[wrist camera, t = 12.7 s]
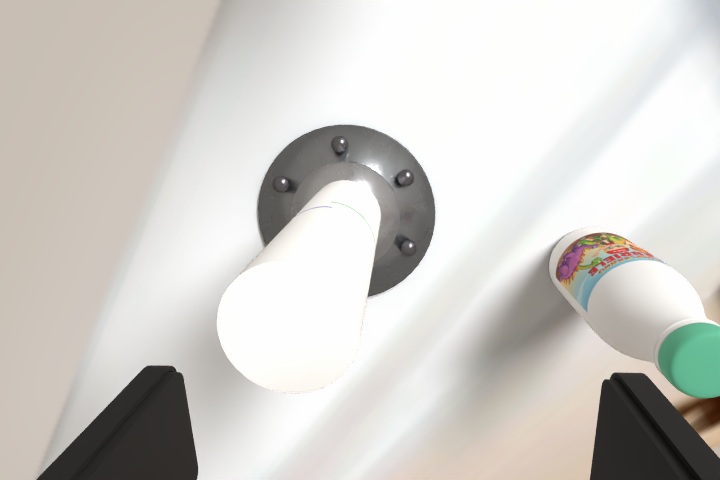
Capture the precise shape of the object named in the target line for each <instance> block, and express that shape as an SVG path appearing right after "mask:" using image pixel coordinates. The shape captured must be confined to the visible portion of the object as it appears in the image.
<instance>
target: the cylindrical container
mask: <svg viewBox="0 0 720 480" xmlns="http://www.w3.org/2000/svg"><path fill="white" fill-rule="evenodd" d="M380 221H381V211H380V206H379V204H378V201H377V199H376V198H375V196H374V195H373V193H372V192H371V191H370V190H369V189H368V188H366V187H365V186H363V185H362V184H359V183H357V182H354V181H349V180H340V181H335V182H332V183H330V184H328V185H326V186H324V187H323V188H322V189H321V190H320V191H319V192H318V193H317V194H316V195H315V196H314V197H313V198H312V199H311V200H310V201H309V202H308V203H307V204H306V205H305V206H304V207H303V208H302V209H301V210H300V212H299V213H298V214H297V215H296V216H295V217H294V218H293V219H292V220H291V221H290V222H289V223H288V224H287V225H286V226H285V227H284V228H283V229H282V230H281V231H280V233H279V234H278V235H277V236H276V237H275V238H274V239H273V240H272V241H271V242H270V243H269V244H268V245H267V246H266V247H265V248H264V249H263V250H262V251H261V252H260V253H259V254H258V256H257V257H256V258H255V259H254V260H253V261H252V262H251V263H250V264H249V265H248V266H247V267H246V268H245V269H244V270H243V271H242V272H241V273H240V275H239V276H238V277H237V278H236V279H235V280H234V281H233V282H232V283H231V284H230V285H229V286H228V288H227V290H226V291H225V293H224V295H223V296H222V299H221V302H220V305H219V308H218V313H217V330H218V336H219V340H220V343H221V346H222V348H223V350H224V352H225V354H226V356H227V358H228V359H229V360H230V361H231V363H232V364H233V365H234V367H235V368H236V369H237V370H238V371H239V372H241V373H242V374H243V375H244V376H245V377H246V378H248V379H249V380H251V381H253V382H254V383H256V384H257V385H259V386H262V387H264V388H267V389H269V390H272V391H277V392H282V393H291V394H300V393H308V392H312V391H316V390H319V389H322V388H324V387H326V386H328V385H330V384H332V383H333V382H335V381H336V380H337V379H338V378H340V377H341V376H342V375H343V374H344V373H345V372H346V371H347V369H348V368H349V367H350V365H351V364H352V363H353V360H354V358H355V356H356V354H357V351H358V347H359V342H360V337H361V331H362V325H363V320H364V314H365V308H366V302H367V296H368V291H369V285H370V279H371V273H372V268H373V262H374V256H375V250H376V244H377V238H378V232H379V226H380Z"/></svg>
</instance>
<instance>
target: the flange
mask: <svg viewBox="0 0 720 480" xmlns="http://www.w3.org/2000/svg"><path fill="white" fill-rule="evenodd" d="M340 180H349V181H354V182H357V183H359V184H362V185H363V186H365V187H366V188H368V189H369V190H370V191H371V192H372V193H373V195H374V196H375V198H376V199H377V201H378V204H379V206H380V211H381V221H380V226H379V232H378V238H377V244H376V250H375V256H374V262H373V268H372V273H371V279H370V285H369V291H368V296H372V295H375V294H378V293H381V292H384V291H386V290H388V289H390V288H392V287H394V286H395V285H397V284H398V283H400V282H401V281H403V280H404V279H405V278H406V277H407V276H408V275H409V274H411V273H412V271H413V270H414V269H415V268H416V267H417V266H418V264H419V263H420V261H421V260H422V258H423V257H424V255H425V253H426V251H427V249H428V247H429V244H430V241H431V238H432V235H433V230H434V225H435V204H434V198H433V193H432V189H431V186H430V184H429V181H428V178H427V176H426V174H425V172H424V171H423V169H422V167H421V165H420V164H419V163H418V161H417V160H416V159H415V157H414V156H413V155H412V154H411V153H410V152H409V151H408V150H407V149H406V148H405V147H404V146H403V145H401V144H400V143H399V142H398V141H396V140H395V139H393V138H391V137H390V136H388V135H386V134H384V133H382V132H379V131H377V130H374V129H371V128H367V127H364V126H357V125H334V126H327V127H323V128H320V129H316V130H313V131H311V132H309V133H306V134H304V135H302V136H301V137H299V138H298V139H296V140H294V141H293V142H292V143H290V144H289V145H288V146H287V147H286V148H285V149H284V150H283V151H282V152H281V153H280V154H279V155H278V156H277V157H276V159H275V160H274V162H273V163H272V164H271V166H270V168H269V170H268V172H267V174H266V176H265V178H264V181H263V184H262V187H261V192H260V197H259V221H260V227H261V231H262V234H263V237H264V241H265V243H266V245H268V244H269V243H270V242H271V241H272V240H273V239H274V238H275V237H276V236H277V235H278V234H279V233H280V231H281V230H282V229H283V228H284V227H285V226H286V225H287V224H288V223H289V222H290V221H291V220H292V219H293V218H294V217H295V216H296V215H297V214H298V213H299V212H300V210H301V209H302V208H303V207H304V206H305V205H306V204H307V203H308V202H309V201H310V200H311V199H312V198H313V197H314V196H315V195H316V194H317V193H318V192H319V191H320V190H321V189H322V188H323V187H324V186H326V185H328V184H330V183H332V182H335V181H340Z"/></svg>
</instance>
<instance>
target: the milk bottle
mask: <svg viewBox="0 0 720 480" xmlns="http://www.w3.org/2000/svg"><path fill="white" fill-rule="evenodd" d="M549 272H550V276H551V279H552V281H553V283H554V284H555V286H556V287H557V289H558V290H559V291H560V292H561V294H562V295H563V296H564V297H565V298H566V299H567V301H568V302H569V303H570V304H571V305H572V307H573V308H574V309H575V310H576V311H577V312H578V314H579V315H580V316H581V317H582V318H583V319H584V320H585V322H586V323H587V324H588V325H589V326H590V327H591V328H592V330H593V331H594V332H595V333H596V334H597V335H598V336H599V337H600V338H601V339H602V340H603V341H605V342H606V343H607V344H608V345H610V346H611V347H612V348H614V349H616V350H617V351H619V352H621V353H623V354H625V355H627V356H630V357H632V358H635V359H639V360H643V361H648V362H653V363H655V366H656V368H657V369H658V370H659V372H660V373H661V374H663V375H664V376H665V377H666V379H667V380H668V381H669V382H670V383H671V384H672V385H673V386H674V387H675V388H676V389H678V390H679V391H681V392H683V393H684V394H687V395H689V396H692V397H696V398H713V397H717V396H720V325H718V324H717V323H715V322H713V321H711V320H708V319H706V316H705V312H704V309H703V305H702V302H701V300H700V298H699V296H698V294H697V292H696V291H695V289H694V288H693V287H692V286H691V284H690V283H689V282H688V281H687V280H686V279H685V278H684V277H683V276H682V275H681V274H680V273H678V272H677V271H676V270H674V269H673V268H671V267H670V266H669V265H667V264H666V263H664V262H663V261H661V260H659V259H658V258H656V257H654V256H653V255H651V254H650V253H648V252H646V251H645V250H643V249H642V248H640V247H638V246H637V245H635V244H633V243H632V242H630V241H628V240H627V239H625V238H623V237H621V236H620V235H618V234H616V233H614V232H612V231H610V230H608V229H605V228H601V227H585V228H581V229H578V230H575V231H573V232H571V233H569V234H567V235H566V236H565V237H564V238H562V239H561V240H560V241H559V242H558V244H557V245H556V246H555V248H554V250H553V252H552V254H551V257H550V261H549Z"/></svg>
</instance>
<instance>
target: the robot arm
mask: <svg viewBox="0 0 720 480" xmlns="http://www.w3.org/2000/svg"><path fill="white" fill-rule="evenodd" d="M197 476H198V463H197V457H196V451H195V445H194V439H193V433H192V427H191V421H190V415H189V409H188V403H187V396H186V390H185V384H184V379H183V375H182V374H181V373H180V372H177V371H176V369H175V368H174V367H173V366H146V367H145V368H144V369H143V370H142V371H141V372H140V373H139V374H138V375H137V376H136V377H135V378H134V379H133V380H132V381H131V382H130V383H129V384H128V385H127V386H126V387H125V388H124V389H123V390H122V392H121V393H120V394H119V395H118V396H117V397H116V398H115V399H114V400H113V401H112V402H111V403H110V404H109V405H108V406H107V407H106V408H105V409H104V410H103V411H102V412H101V413H100V414H99V415H98V416H97V417H96V418H95V419H94V421H93V422H92V423H91V424H90V425H89V426H88V427H87V428H86V429H85V430H84V431H83V432H82V433H81V434H80V435H79V436H78V437H77V438H76V439H75V440H74V441H73V442H72V443H71V444H70V445H69V446H68V447H67V448H66V450H65V451H64V452H63V453H62V454H61V455H60V456H59V457H58V458H57V459H56V460H55V461H54V462H53V463H52V464H51V465H50V466H49V467H48V468H47V469H46V470H45V471H44V472H43V473H42V474H41V475H40V476H39V478H38V479H37V480H197ZM590 480H720V458H719V457H718V456H717V455H716V454H715V453H714V451H713V450H712V449H711V448H710V447H709V446H708V445H707V444H706V442H705V441H704V440H703V439H702V438H701V437H700V436H699V434H698V433H697V432H696V431H695V430H694V429H693V428H692V427H691V425H690V424H689V423H688V422H687V421H686V420H685V419H684V417H683V416H682V415H681V414H680V413H679V412H678V411H677V410H676V408H675V407H674V406H673V405H672V404H671V403H670V402H669V400H668V399H667V398H666V397H665V396H664V395H663V394H662V392H661V391H660V390H659V389H658V388H657V387H656V386H655V385H654V383H653V382H652V381H651V380H650V379H649V378H648V377H647V376H646V375H645V374H643V373H613V374H612V376H611V377H610V380H606V379H605V380H604V381H603V383H602V388H601V396H600V404H599V412H598V420H597V428H596V436H595V444H594V452H593V460H592V468H591V476H590Z"/></svg>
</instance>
